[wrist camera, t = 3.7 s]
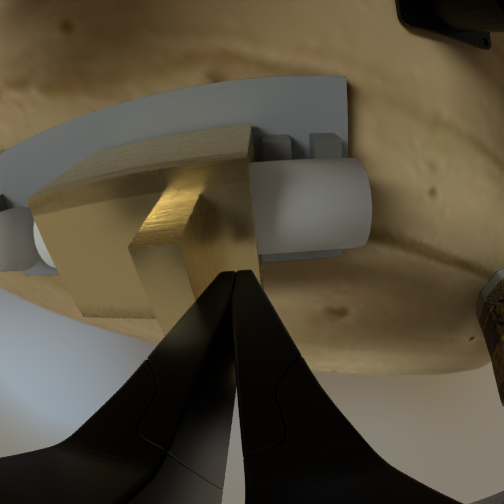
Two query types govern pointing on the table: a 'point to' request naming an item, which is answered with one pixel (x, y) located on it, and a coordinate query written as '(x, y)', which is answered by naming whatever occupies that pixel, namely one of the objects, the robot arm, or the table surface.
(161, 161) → the coupling
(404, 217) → the table surface
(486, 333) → the ceramic cup
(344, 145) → the pipe run
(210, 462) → the robot arm
